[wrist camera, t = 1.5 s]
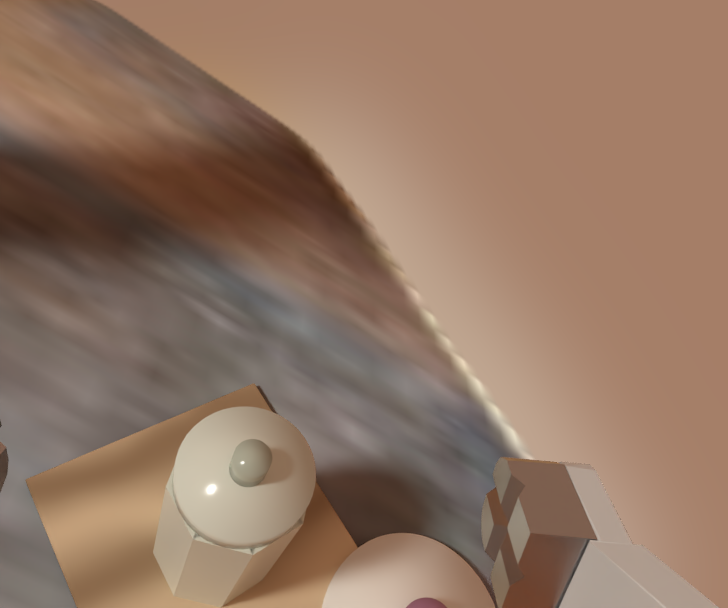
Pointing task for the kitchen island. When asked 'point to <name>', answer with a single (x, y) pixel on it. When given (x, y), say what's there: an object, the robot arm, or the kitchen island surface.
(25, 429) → the kitchen island surface
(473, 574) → the saucer
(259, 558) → the lidded octagonal canister
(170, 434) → the mat
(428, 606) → the ball
